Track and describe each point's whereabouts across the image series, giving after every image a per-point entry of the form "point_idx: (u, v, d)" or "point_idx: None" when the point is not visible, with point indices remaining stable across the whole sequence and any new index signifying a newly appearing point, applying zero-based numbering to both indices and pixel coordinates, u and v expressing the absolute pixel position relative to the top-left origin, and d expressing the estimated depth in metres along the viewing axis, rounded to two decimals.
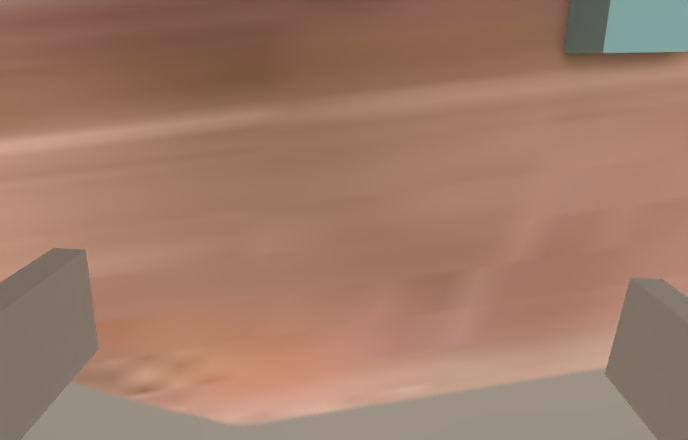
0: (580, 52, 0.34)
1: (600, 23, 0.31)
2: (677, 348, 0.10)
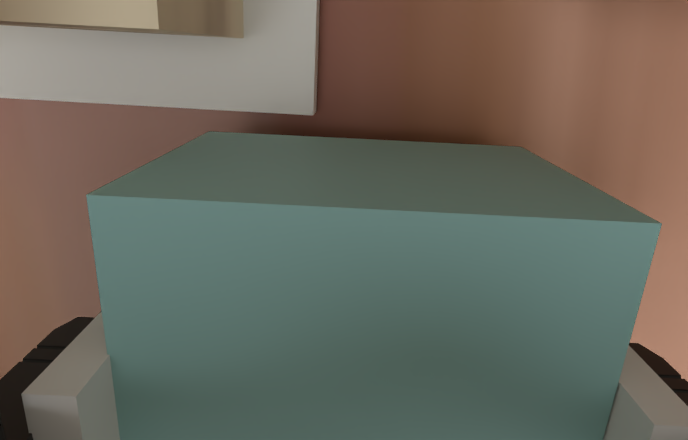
0: None
1: None
2: None
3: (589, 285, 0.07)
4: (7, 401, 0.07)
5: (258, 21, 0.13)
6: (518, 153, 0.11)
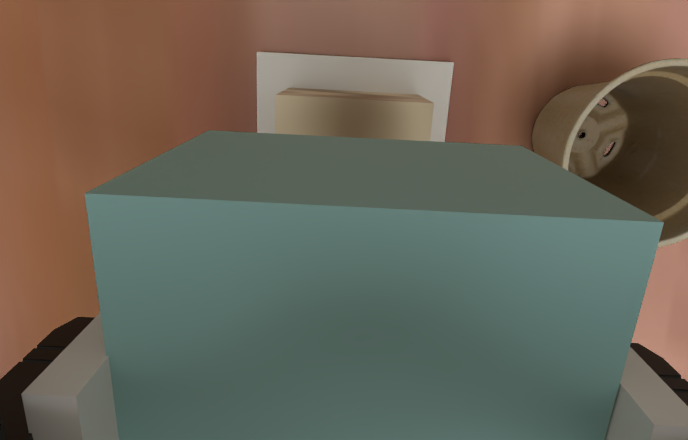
0: None
1: None
2: None
3: (591, 284, 0.07)
4: (7, 400, 0.07)
5: None
6: (519, 152, 0.11)
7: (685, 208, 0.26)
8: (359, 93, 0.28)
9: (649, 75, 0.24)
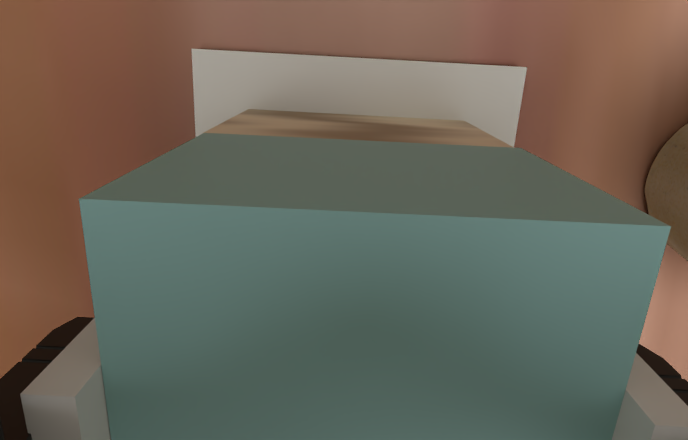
0: None
1: None
2: None
3: (598, 290, 0.07)
4: (6, 400, 0.07)
5: None
6: (519, 154, 0.11)
7: None
8: (367, 121, 0.16)
9: None
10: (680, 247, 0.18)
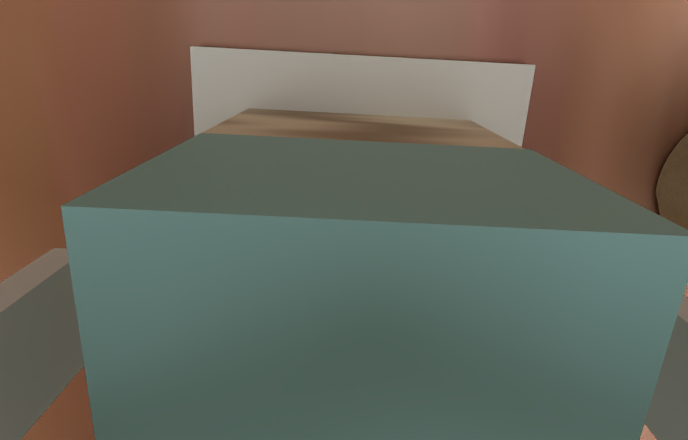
0: None
1: None
2: (677, 348, 0.10)
3: (621, 304, 0.06)
4: None
5: None
6: (529, 156, 0.11)
7: None
8: (371, 121, 0.16)
9: None
10: None
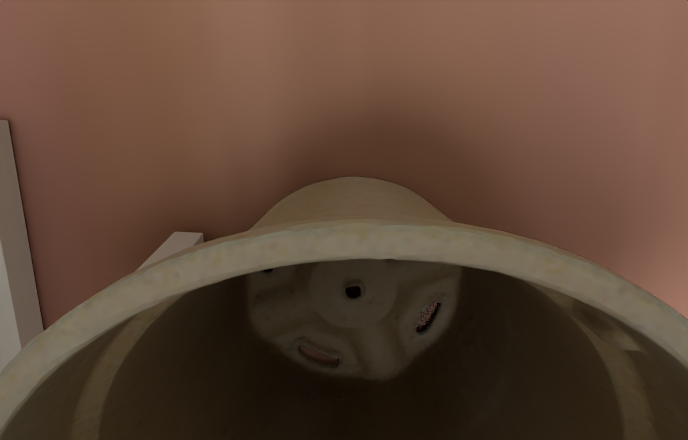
0: None
1: None
2: None
3: None
4: None
5: None
6: None
7: None
8: None
9: None
10: (236, 398, 0.12)
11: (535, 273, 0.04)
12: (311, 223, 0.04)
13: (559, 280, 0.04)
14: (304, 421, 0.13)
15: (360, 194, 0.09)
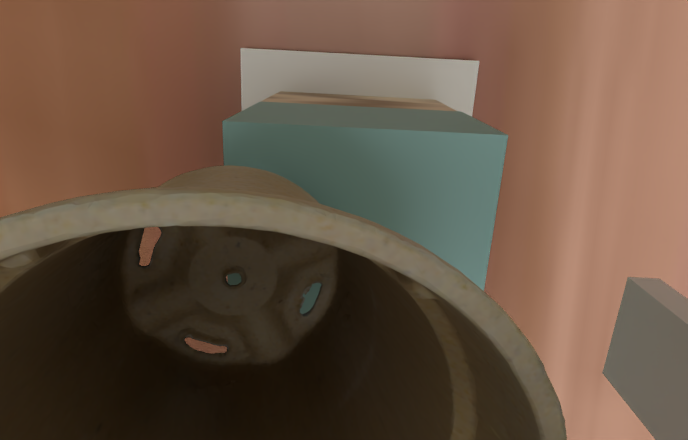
0: None
1: None
2: (674, 347, 0.10)
3: (475, 168, 0.14)
4: None
5: None
6: (457, 113, 0.18)
7: None
8: (365, 98, 0.23)
9: None
10: (113, 395, 0.11)
11: (310, 231, 0.05)
12: (95, 196, 0.04)
13: (331, 236, 0.05)
14: (190, 410, 0.13)
15: (218, 180, 0.10)
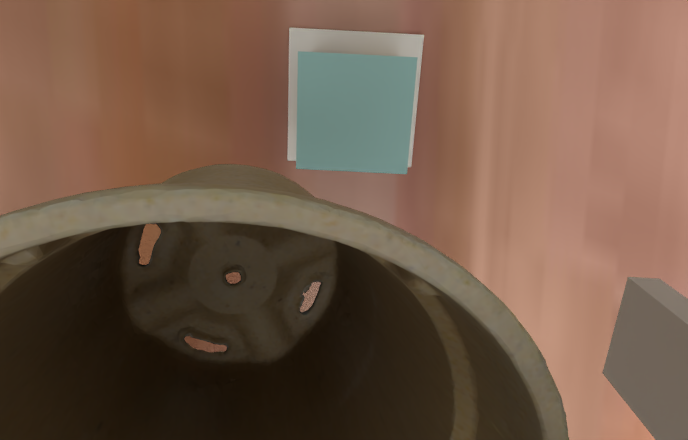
0: None
1: None
2: (673, 347, 0.10)
3: (404, 72, 0.33)
4: None
5: None
6: None
7: None
8: None
9: None
10: (114, 394, 0.11)
11: (314, 227, 0.05)
12: (100, 192, 0.04)
13: (335, 231, 0.05)
14: (190, 409, 0.13)
15: (219, 178, 0.10)
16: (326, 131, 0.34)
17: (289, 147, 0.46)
